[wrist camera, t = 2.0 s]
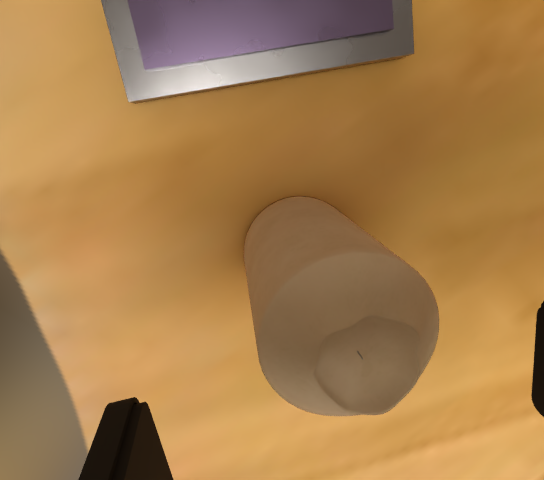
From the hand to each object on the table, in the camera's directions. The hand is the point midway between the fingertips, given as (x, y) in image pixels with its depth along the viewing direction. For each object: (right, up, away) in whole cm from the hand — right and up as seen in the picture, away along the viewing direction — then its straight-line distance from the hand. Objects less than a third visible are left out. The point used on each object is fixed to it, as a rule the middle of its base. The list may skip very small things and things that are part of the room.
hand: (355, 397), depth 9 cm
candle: (-1, +3, +11) cm, 11 cm away
